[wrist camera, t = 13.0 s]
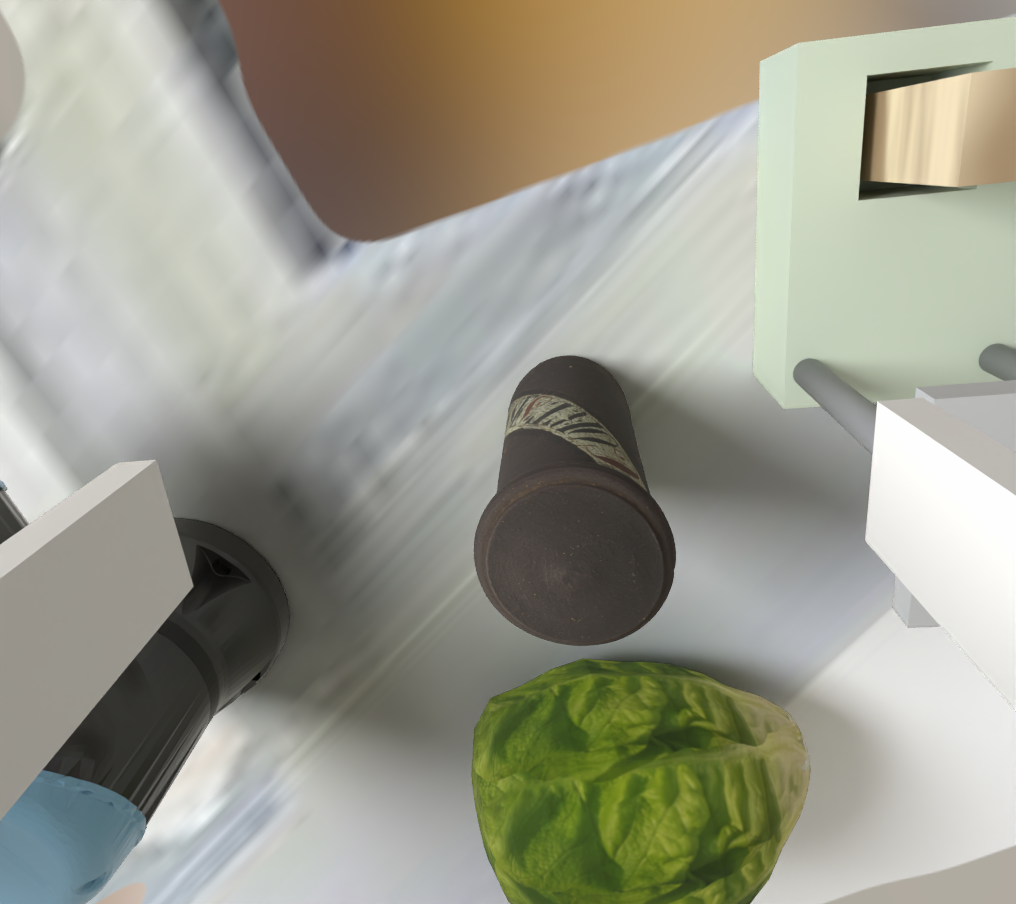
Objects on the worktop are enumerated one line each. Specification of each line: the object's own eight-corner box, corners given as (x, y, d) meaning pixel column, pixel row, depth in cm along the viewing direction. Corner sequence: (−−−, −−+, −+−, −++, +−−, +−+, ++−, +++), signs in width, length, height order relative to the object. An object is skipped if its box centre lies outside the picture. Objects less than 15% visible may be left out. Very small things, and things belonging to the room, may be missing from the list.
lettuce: (833, 898, 53) (928, 879, 37) (519, 981, 52) (484, 996, 37) (736, 658, 63) (780, 566, 48) (473, 725, 62) (431, 653, 47)
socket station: (962, 380, 46) (1373, 607, 23) (736, 398, 48) (907, 627, 24) (1008, 31, 39) (1675, -158, 16) (741, 63, 40) (990, -67, 17)
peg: (833, 178, 41) (958, 186, 28) (837, 100, 40) (971, 72, 27) (906, 170, 41) (1067, 176, 28) (914, 92, 40) (1087, 59, 27)
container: (614, 335, 47) (650, 452, 28) (648, 459, 50) (701, 639, 31) (486, 373, 48) (441, 508, 30) (527, 492, 51) (509, 681, 33)
